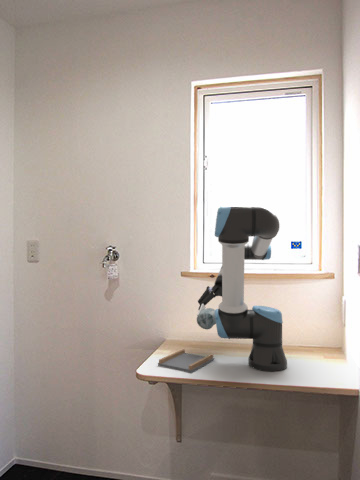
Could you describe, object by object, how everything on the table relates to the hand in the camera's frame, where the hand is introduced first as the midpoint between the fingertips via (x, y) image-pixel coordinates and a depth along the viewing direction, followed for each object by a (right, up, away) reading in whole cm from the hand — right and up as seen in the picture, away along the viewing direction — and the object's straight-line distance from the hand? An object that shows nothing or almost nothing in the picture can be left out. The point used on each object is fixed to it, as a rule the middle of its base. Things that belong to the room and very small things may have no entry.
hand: (208, 318), depth 170 cm
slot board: (-10, -16, -13) cm, 23 cm away
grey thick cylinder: (0, -4, -1) cm, 4 cm away
